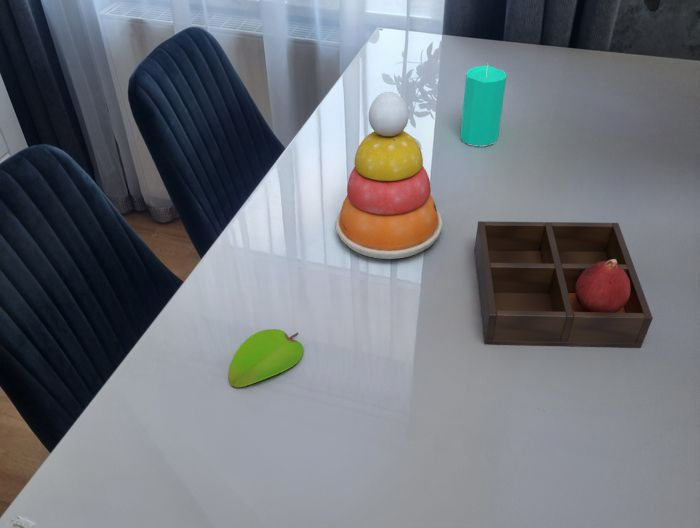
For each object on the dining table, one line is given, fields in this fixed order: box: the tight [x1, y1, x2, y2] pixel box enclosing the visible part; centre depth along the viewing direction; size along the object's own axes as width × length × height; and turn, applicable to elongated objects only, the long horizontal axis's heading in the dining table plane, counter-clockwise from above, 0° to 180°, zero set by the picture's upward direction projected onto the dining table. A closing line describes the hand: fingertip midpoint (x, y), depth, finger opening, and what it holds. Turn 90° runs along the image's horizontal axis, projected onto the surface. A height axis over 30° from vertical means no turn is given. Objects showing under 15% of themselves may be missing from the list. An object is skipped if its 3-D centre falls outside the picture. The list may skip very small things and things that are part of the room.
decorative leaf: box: [228, 328, 304, 388], centre depth 76 cm, size 8×9×1 cm
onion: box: [575, 259, 631, 313], centre depth 76 cm, size 6×6×8 cm
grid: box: [473, 220, 653, 349], centre depth 81 cm, size 17×17×5 cm
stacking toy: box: [335, 91, 443, 260], centre depth 86 cm, size 14×14×20 cm
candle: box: [459, 63, 507, 146], centre depth 105 cm, size 6×6×12 cm
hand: (697, 6), depth 72 cm, fingers open, 9 cm apart
